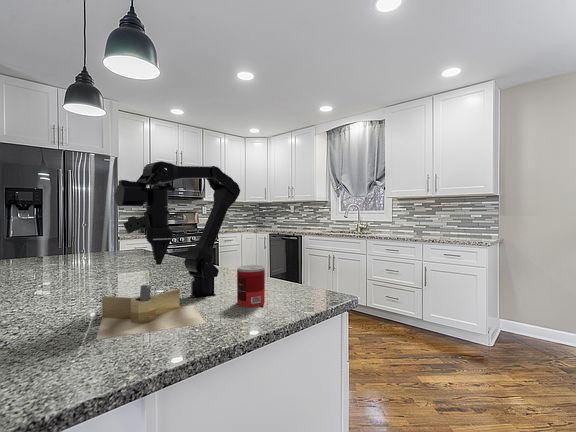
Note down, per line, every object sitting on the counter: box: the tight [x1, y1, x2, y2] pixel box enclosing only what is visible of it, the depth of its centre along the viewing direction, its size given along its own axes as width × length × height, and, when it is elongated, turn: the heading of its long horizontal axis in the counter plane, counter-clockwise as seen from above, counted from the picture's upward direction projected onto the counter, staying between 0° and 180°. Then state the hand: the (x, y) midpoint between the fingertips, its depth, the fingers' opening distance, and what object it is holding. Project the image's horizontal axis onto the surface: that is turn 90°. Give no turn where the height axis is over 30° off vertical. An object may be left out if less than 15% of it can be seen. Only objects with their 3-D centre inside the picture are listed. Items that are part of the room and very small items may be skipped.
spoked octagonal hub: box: [101, 288, 180, 324], centre depth 78 cm, size 18×9×5 cm, turn 116°
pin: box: [139, 284, 152, 301], centre depth 76 cm, size 2×2×8 cm
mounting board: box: [95, 304, 207, 341], centre depth 76 cm, size 22×16×1 cm
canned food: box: [236, 264, 266, 308], centre depth 90 cm, size 8×8×11 cm
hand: (157, 262), depth 89 cm, fingers open, 9 cm apart
